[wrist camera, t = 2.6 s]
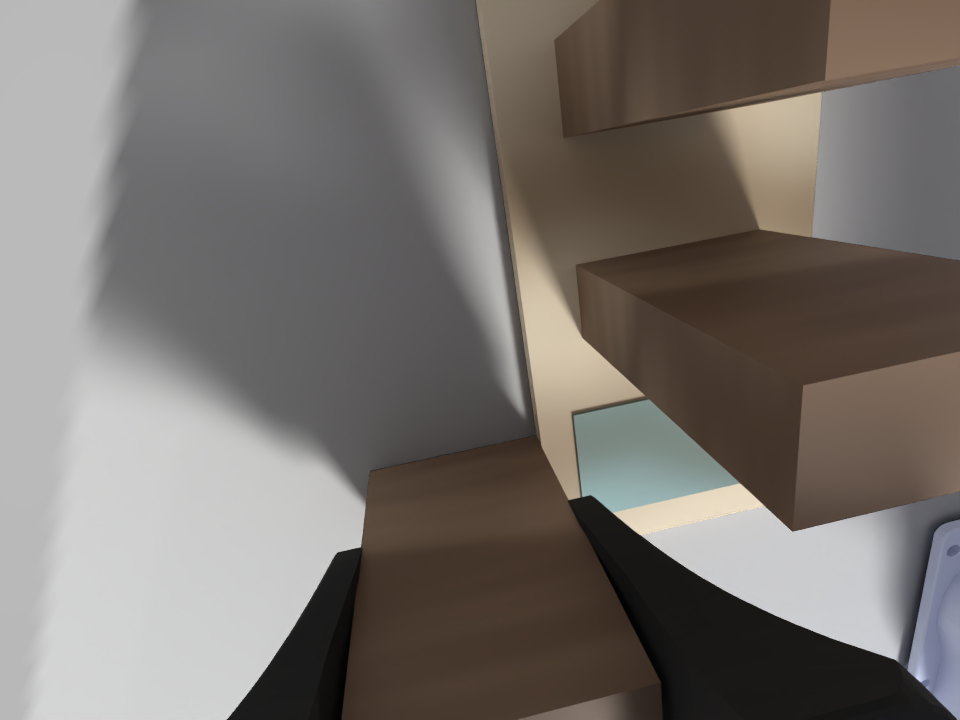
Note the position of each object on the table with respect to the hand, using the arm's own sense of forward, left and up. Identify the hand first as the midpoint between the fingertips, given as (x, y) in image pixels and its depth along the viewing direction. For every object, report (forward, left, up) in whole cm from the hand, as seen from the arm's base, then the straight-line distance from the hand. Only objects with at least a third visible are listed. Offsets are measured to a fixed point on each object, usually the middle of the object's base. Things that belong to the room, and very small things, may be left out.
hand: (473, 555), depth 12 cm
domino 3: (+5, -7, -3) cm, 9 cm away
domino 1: (0, 0, -3) cm, 3 cm away
